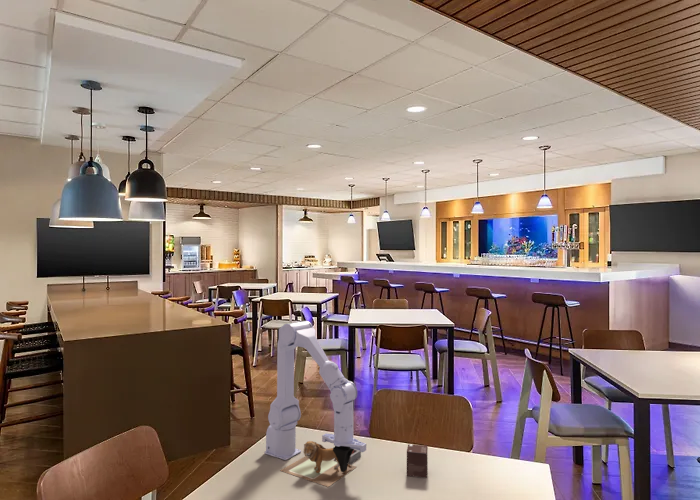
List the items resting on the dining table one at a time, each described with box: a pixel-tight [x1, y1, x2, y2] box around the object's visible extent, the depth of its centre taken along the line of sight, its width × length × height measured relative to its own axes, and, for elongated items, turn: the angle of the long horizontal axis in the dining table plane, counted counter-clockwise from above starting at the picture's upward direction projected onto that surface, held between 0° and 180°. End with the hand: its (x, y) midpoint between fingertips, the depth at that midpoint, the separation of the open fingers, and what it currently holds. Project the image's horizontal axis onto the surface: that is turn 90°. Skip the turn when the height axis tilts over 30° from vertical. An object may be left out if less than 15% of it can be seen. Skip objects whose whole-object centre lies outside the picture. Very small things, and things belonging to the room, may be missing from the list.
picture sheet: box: [279, 455, 357, 488], centre depth 146 cm, size 18×15×1 cm
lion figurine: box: [303, 440, 353, 473], centre depth 145 cm, size 15×5×9 cm, turn 99°
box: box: [406, 443, 429, 479], centre depth 144 cm, size 6×6×7 cm
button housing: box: [348, 449, 362, 464], centre depth 154 cm, size 6×6×2 cm
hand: (343, 470), depth 141 cm, fingers closed
